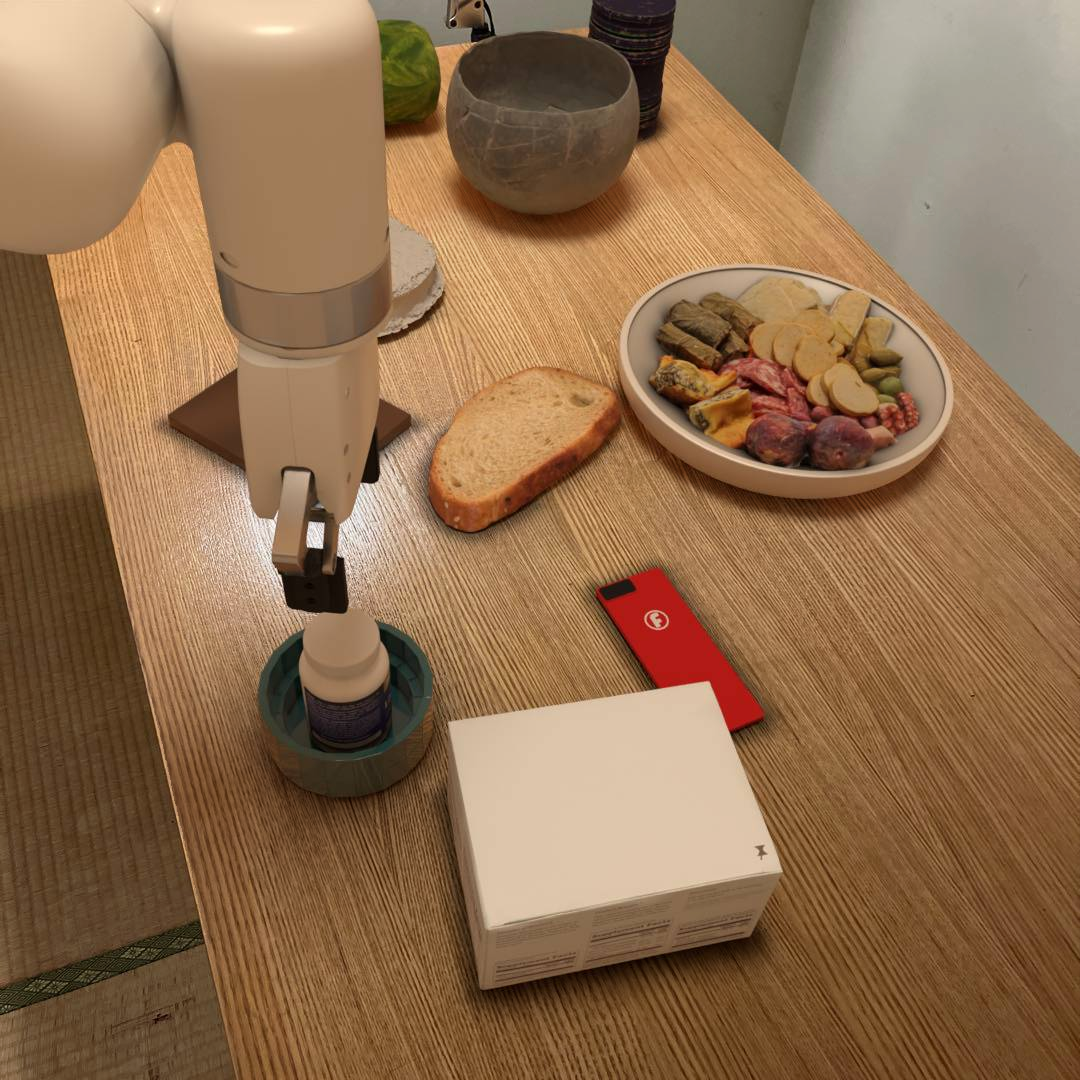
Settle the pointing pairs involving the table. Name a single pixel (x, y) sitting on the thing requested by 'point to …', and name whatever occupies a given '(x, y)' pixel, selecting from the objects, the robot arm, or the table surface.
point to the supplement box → (604, 833)
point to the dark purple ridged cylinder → (638, 46)
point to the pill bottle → (345, 682)
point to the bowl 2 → (783, 380)
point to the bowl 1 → (542, 119)
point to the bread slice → (517, 443)
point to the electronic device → (675, 643)
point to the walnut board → (220, 429)
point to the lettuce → (408, 72)
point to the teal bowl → (359, 768)
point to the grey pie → (411, 276)
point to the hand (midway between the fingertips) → (336, 539)
